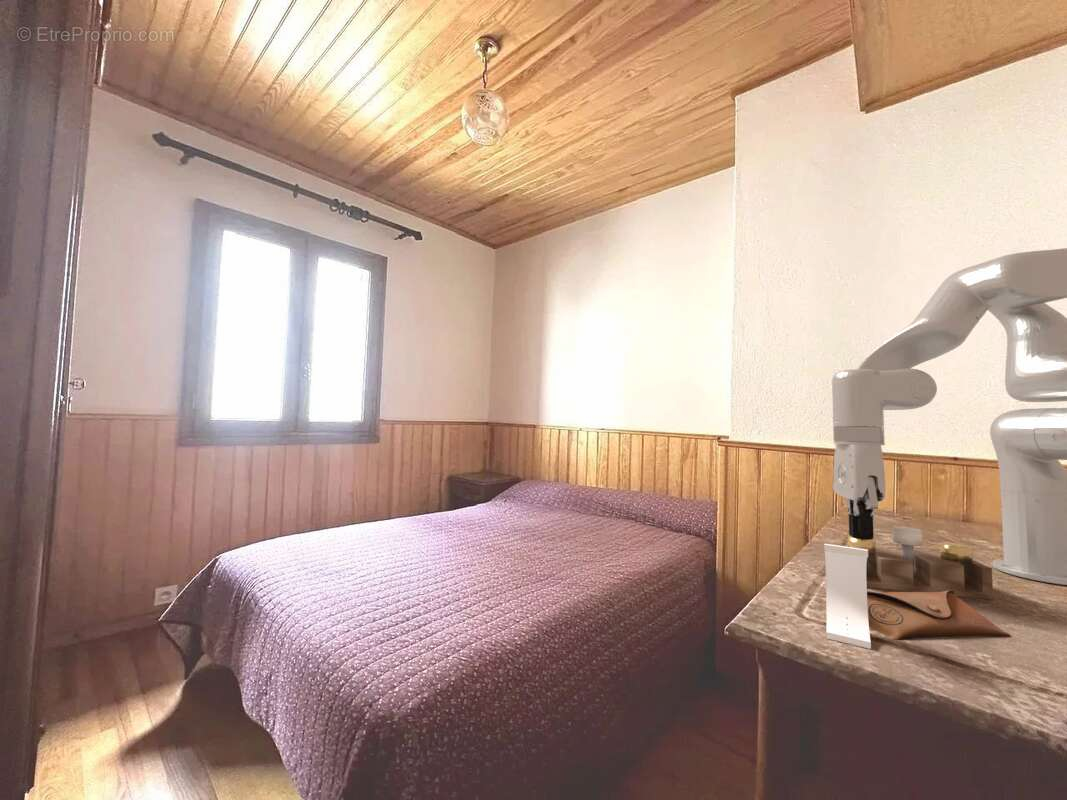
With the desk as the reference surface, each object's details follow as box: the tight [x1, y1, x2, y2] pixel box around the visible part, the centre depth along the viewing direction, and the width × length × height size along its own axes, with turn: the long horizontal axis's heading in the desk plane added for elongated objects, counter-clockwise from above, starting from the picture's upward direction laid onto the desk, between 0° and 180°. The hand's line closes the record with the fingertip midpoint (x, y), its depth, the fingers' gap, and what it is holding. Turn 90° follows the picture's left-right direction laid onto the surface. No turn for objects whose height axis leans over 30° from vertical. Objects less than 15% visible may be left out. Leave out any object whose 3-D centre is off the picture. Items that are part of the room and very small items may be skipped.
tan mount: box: [837, 544, 994, 600], centre depth 76 cm, size 19×8×5 cm, turn 74°
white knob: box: [892, 526, 924, 567], centre depth 77 cm, size 4×4×6 cm
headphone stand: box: [823, 543, 872, 650], centre depth 58 cm, size 5×6×12 cm
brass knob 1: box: [847, 535, 877, 575], centre depth 78 cm, size 4×4×6 cm
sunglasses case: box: [867, 590, 1011, 641], centre depth 61 cm, size 18×7×7 cm
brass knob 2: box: [939, 541, 974, 565], centre depth 75 cm, size 4×4×6 cm
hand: (861, 537), depth 79 cm, fingers closed
